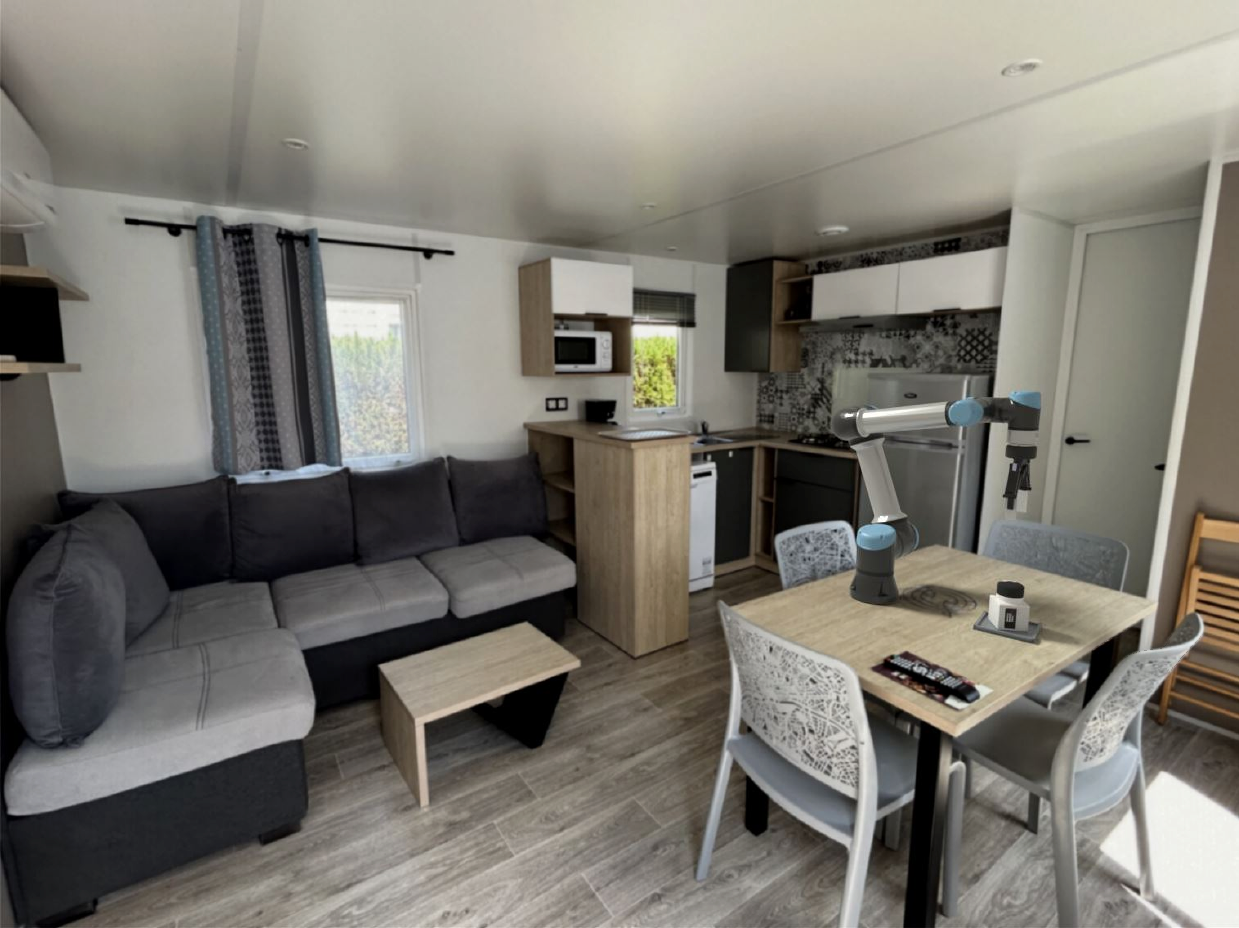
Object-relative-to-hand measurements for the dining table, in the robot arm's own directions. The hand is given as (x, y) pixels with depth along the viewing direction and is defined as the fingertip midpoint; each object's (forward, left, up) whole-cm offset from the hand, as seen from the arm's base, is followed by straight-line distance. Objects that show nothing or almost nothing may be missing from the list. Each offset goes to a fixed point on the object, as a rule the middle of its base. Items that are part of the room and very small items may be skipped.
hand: (1015, 516), depth 172 cm
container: (+2, -9, -31) cm, 32 cm away
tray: (+2, -10, -31) cm, 33 cm away
